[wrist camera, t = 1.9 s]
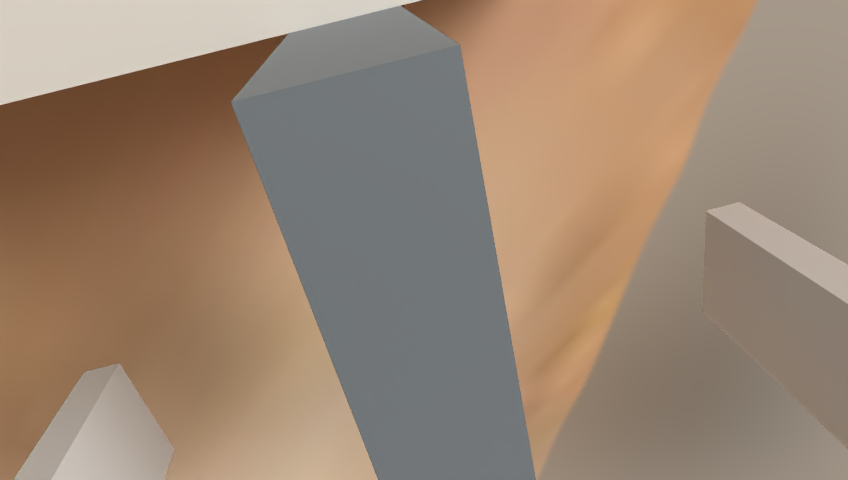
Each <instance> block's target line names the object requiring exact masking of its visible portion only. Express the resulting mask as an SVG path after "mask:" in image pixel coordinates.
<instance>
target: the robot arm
mask: <svg viewBox="0 0 848 480" xmlns="http://www.w3.org/2000/svg"><path fill="white" fill-rule="evenodd" d="M702 312H703V313H705V314H706V315H707V316H708V317H709V318H710V319H711V320H712V321H713V322H714V323H715V324H716V325H717V326H718V327H719V328H720V329H722V331H724V332H725V333H726V334H727V335H728V336H729V337H730V338H731V339H732V340H733V341H734V342H735V343H736V344H737V345H738V346H739V347H740V348H742V349H743V350H744V351H745V352H746V353H747V354H748V355H749V356H750V357H751V358H752V359H753V360H754V361H755V362H757V364H758V365H760V366H761V367H762V368H763V369H764V370H765V371H766V372H767V373H768V374H769V375H770V376H771V377H772V378H773V379H774V380H775V381H777V382H778V383H779V384H780V385H781V386H782V387H783V388H784V389H785V390H786V391H787V392H788V393H789V394H790V395H792V396H793V397H794V399H796V400H797V401H798V402H799V403H800V404H801V405H802V406H803V407H804V408H805V409H806V410H807V411H808V412H809V413H810V414H811V415H812V416H814V417H815V418H816V419H817V420H818V421H819V422H820V423H821V424H822V425H823V426H824V427H825V428H826V429H827V430H828V431H830V432H831V433H832V434H833V435H834V436H835V437H836V438H837V439H838V440H839V441H840V442H841V443H842V444H843V445H844V446H846V448H848V265H847V264H845V263H844V262H842V261H840V260H838V259H837V258H835V257H833V256H832V255H830V254H828V253H826V252H825V251H823V250H821V249H820V248H818V247H816V246H814V245H813V244H811V243H809V242H807V241H805V240H804V239H802V238H801V237H799V236H797V235H795V234H794V233H792V232H790V231H788V230H787V229H785V228H783V227H781V226H780V225H778V224H776V223H774V222H773V221H771V220H769V219H768V218H766V217H764V216H762V215H761V214H759V213H757V212H755V211H754V210H752V209H750V208H749V207H747V206H745V205H743V204H742V203H740V202H739V203H735V204H731V205H727V206H723V207H719V208H715V209H711V210H708V211H706V226H705V253H704V278H703V307H702ZM173 453H174V448H173V447H172V445H171V444H170V442H169V441H168V439H167V437H166V436H165V434H164V433H163V431H162V429H161V428H160V426H159V425H158V423H157V422H156V420H155V418H154V417H153V415H152V414H151V412H150V411H149V409H148V407H147V406H146V404H145V403H144V401H143V399H142V398H141V396H140V395H139V393H138V392H137V390H136V388H135V387H134V385H133V384H132V382H131V381H130V379H129V377H128V376H127V374H126V373H125V371H124V370H123V368H122V366H121V365H120V363H117V364H113V365H109V366H105V367H101V368H97V369H94V370H90V371H86V372H84V373H83V375H82V376H81V378H80V379H79V381H78V382H77V384H76V385H75V387H74V388H73V390H72V391H71V393H70V394H69V396H68V397H67V399H66V400H65V402H64V403H63V405H62V407H61V408H60V410H59V411H58V413H57V414H56V416H55V417H54V419H53V420H52V422H51V423H50V425H49V426H48V428H47V429H46V431H45V432H44V434H43V435H42V437H41V439H40V440H39V442H38V443H37V445H36V446H35V448H34V449H33V451H32V452H31V454H30V455H29V457H28V458H27V460H26V461H25V463H24V464H23V466H22V467H21V469H20V470H19V472H18V474H17V475H16V477H15V478H14V480H164V478H165V475H166V472H167V470H168V467H169V464H170V461H171V459H172V456H173Z"/></svg>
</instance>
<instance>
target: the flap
mask: <svg viewBox="0 0 848 480" xmlns="http://www.w3.org/2000/svg"><path fill="white" fill-rule="evenodd" d="M417 1H421V0H0V105H2V104H6V103H10V102H14V101H18V100H23V99H27V98H31V97H35V96H39V95H43V94H47V93H51V92H55V91H59V90H63V89H67V88H71V87H75V86H79V85H83V84H87V83H91V82H95V81H99V80H103V79H107V78H111V77H115V76H119V75H123V74H127V73H131V72H135V71H139V70H143V69H147V68H151V67H155V66H159V65H163V64H167V63H171V62H175V61H179V60H183V59H187V58H191V57H195V56H200V55H204V54H208V53H212V52H216V51H220V50H224V49H228V48H232V47H236V46H240V45H244V44H248V43H252V42H256V41H260V40H264V39H268V38H272V37H276V36H280V35H284V34H288V33H289V34H288V35H287V36H286V37H285V38H284V40H283V41H282V42H281V43H280V44H279V46H278V47H277V48H276V49H275V50H274V51H273V53H272V54H271V55H270V56H269V57H268V59H267V60H266V61H265V62H264V63H263V64H262V66H261V67H260V68H259V69H258V70H257V71H256V73H255V74H254V75H253V76H252V77H251V79H250V80H249V81H248V82H247V83H246V84H245V86H244V87H243V88H242V89H241V90H240V92H239V93H238V94H237V95H236V96H235V97H234V99H233V100H232V101H231V104H232V107H233V109H234V112H235V114H236V117H237V119H238V122H239V125H240V127H241V130H242V132H243V135H244V137H245V140H246V142H247V145H248V148H249V150H250V153H251V155H252V158H253V160H254V163H255V166H256V168H257V171H258V173H259V176H260V178H261V181H262V183H263V186H264V189H265V191H266V194H267V196H268V199H269V201H270V204H271V206H272V209H273V212H274V214H275V217H276V219H277V222H278V224H279V227H280V229H281V232H282V235H283V237H284V240H285V242H286V245H287V247H288V250H289V253H290V255H291V258H292V260H293V263H294V265H295V268H296V270H297V273H298V276H299V278H300V281H301V283H302V286H303V288H304V291H305V293H306V296H307V299H308V301H309V304H310V306H311V309H312V311H313V314H314V317H315V319H316V322H317V324H318V327H319V329H320V332H321V334H322V337H323V340H324V342H325V345H326V347H327V350H328V352H329V355H330V357H331V360H332V363H333V365H334V368H335V370H336V373H337V375H338V378H339V381H340V383H341V386H342V388H343V391H344V393H345V396H346V398H347V401H348V404H349V406H350V409H351V411H352V414H353V416H354V419H355V421H356V424H357V427H358V429H359V432H360V434H361V437H362V439H363V442H364V444H365V447H366V450H367V452H368V455H369V457H370V460H371V462H372V465H373V468H374V470H375V473H376V475H377V478H378V480H536V478H535V472H534V467H533V461H532V455H531V449H530V444H529V438H528V432H527V427H526V421H525V415H524V409H523V404H522V398H521V392H520V386H519V381H518V375H517V369H516V363H515V358H514V352H513V346H512V341H511V335H510V329H509V323H508V318H507V312H506V306H505V300H504V295H503V289H502V283H501V277H500V272H499V266H498V260H497V255H496V249H495V243H494V237H493V232H492V226H491V220H490V214H489V209H488V203H487V197H486V191H485V186H484V180H483V174H482V169H481V163H480V157H479V151H478V146H477V140H476V134H475V128H474V123H473V117H472V111H471V105H470V100H469V94H468V88H467V83H466V77H465V71H464V65H463V60H462V54H461V48H460V44H458V43H457V42H455V41H454V40H452V39H451V38H449V37H448V36H446V35H445V34H443V33H441V32H440V31H438V30H437V29H435V28H434V27H432V26H431V25H429V24H428V23H426V22H425V21H423V20H422V19H420V18H418V17H417V16H415V15H414V14H412V13H411V12H409V11H408V10H406V9H405V8H403V7H402V6H401V5H405V4H409V3H413V2H417Z"/></svg>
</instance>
